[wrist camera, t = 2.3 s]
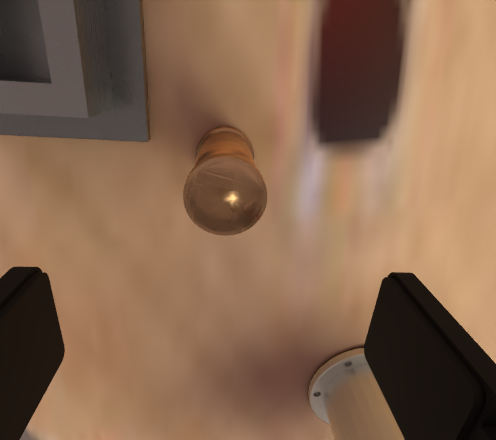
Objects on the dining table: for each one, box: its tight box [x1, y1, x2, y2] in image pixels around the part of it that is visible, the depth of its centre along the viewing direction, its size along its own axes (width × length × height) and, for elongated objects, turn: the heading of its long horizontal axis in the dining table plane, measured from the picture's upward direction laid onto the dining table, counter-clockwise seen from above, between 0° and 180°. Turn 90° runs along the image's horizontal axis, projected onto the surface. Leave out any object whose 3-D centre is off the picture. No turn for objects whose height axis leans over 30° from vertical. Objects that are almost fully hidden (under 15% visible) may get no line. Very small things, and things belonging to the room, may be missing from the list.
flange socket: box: [0, 0, 150, 142], centre depth 20 cm, size 14×14×6 cm
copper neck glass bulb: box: [183, 127, 267, 235], centre depth 23 cm, size 5×5×10 cm
